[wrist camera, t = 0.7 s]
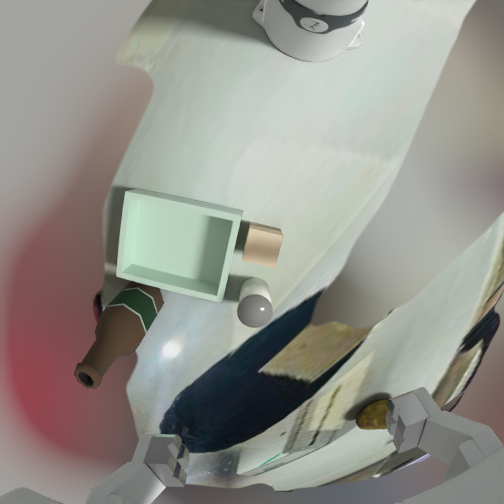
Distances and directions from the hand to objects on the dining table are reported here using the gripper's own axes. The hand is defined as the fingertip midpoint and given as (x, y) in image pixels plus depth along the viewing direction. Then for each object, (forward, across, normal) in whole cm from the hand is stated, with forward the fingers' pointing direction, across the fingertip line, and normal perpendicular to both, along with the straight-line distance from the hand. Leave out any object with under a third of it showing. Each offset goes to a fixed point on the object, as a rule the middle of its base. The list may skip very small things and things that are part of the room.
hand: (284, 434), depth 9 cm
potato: (+40, -21, +47) cm, 66 cm away
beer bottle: (+40, +23, +8) cm, 46 cm away
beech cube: (+39, 0, +2) cm, 39 cm away
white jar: (+39, +3, +10) cm, 41 cm away
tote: (+39, +13, -1) cm, 41 cm away
